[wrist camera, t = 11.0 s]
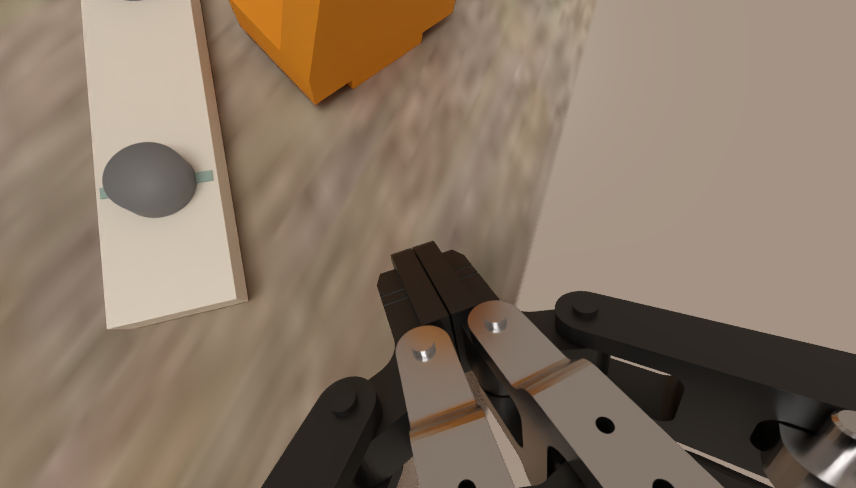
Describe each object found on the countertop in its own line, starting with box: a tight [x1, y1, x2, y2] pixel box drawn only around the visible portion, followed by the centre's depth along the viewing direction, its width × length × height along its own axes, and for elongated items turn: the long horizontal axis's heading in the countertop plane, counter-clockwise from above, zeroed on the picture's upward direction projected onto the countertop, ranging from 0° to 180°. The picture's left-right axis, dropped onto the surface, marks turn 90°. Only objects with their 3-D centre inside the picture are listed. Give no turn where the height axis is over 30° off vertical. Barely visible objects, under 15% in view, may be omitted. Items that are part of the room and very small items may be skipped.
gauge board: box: [81, 0, 248, 329], centre depth 17 cm, size 5×24×2 cm, turn 15°
